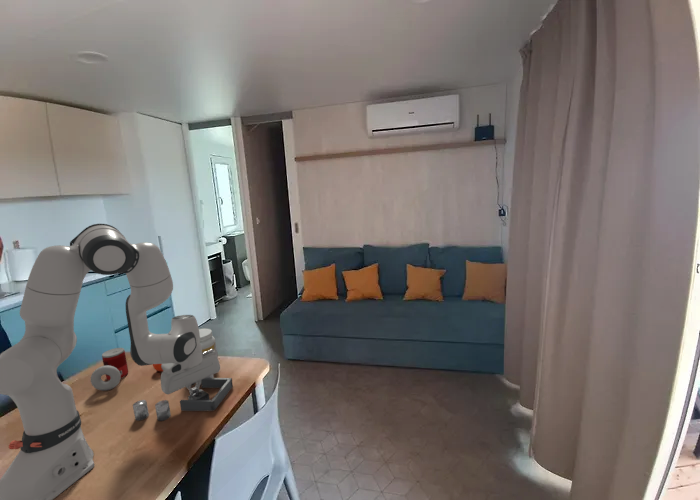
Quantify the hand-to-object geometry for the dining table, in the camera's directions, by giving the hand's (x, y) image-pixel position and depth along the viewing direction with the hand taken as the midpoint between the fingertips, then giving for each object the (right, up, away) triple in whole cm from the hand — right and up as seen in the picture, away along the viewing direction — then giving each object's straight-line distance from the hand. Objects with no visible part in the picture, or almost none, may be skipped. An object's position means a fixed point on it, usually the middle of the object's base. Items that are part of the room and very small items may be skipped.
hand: (194, 393), depth 128 cm
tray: (+5, -2, 0) cm, 5 cm away
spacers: (-7, -2, +1) cm, 7 cm away
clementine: (-24, 0, +23) cm, 33 cm away
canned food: (-41, -1, +20) cm, 46 cm away
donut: (-38, -3, +9) cm, 39 cm away
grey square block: (+3, -2, -2) cm, 4 cm away
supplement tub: (-5, +1, +20) cm, 20 cm away
